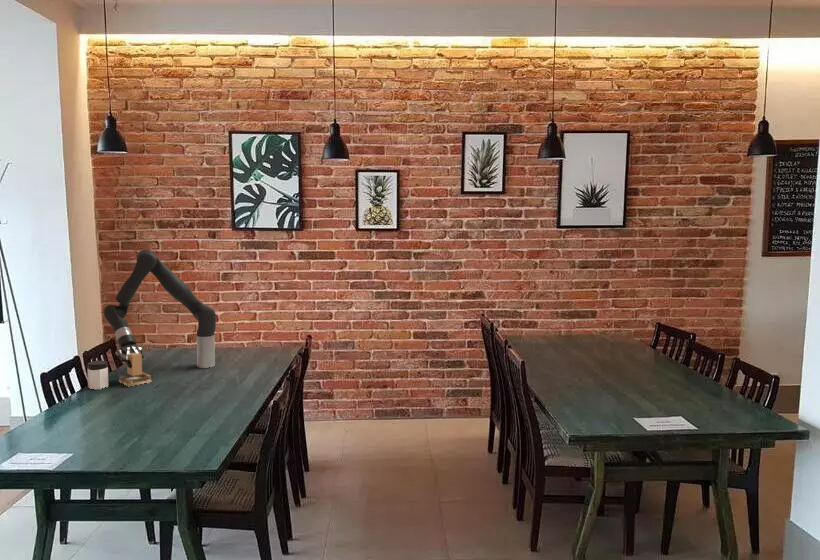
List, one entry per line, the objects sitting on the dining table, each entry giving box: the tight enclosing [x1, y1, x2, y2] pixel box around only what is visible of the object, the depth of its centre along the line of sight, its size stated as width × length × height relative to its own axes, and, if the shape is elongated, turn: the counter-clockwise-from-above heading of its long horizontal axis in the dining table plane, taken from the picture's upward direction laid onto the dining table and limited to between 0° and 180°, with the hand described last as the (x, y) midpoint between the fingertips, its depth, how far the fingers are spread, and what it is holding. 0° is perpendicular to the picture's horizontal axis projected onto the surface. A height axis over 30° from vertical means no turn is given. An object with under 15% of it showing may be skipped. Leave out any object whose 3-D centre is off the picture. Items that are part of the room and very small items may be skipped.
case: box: [126, 352, 143, 377], centre depth 285 cm, size 6×4×10 cm
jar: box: [87, 360, 109, 390], centre depth 277 cm, size 9×8×12 cm
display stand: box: [118, 371, 153, 388], centre depth 286 cm, size 11×11×4 cm
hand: (136, 366), depth 284 cm, fingers closed on case, 4 cm apart
